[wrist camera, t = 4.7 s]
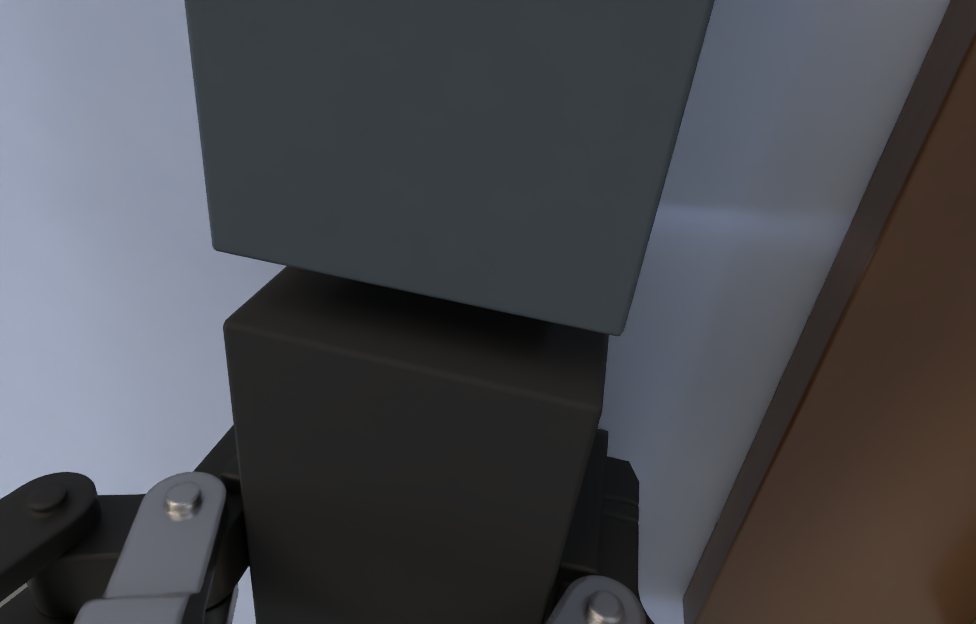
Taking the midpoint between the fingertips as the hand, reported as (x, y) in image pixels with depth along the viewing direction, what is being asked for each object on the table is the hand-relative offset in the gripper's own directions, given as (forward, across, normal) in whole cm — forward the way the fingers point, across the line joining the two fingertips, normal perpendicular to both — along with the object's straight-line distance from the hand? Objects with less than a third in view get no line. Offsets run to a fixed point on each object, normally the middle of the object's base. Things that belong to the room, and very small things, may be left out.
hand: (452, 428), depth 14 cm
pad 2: (0, 0, 0) cm, 0 cm away
